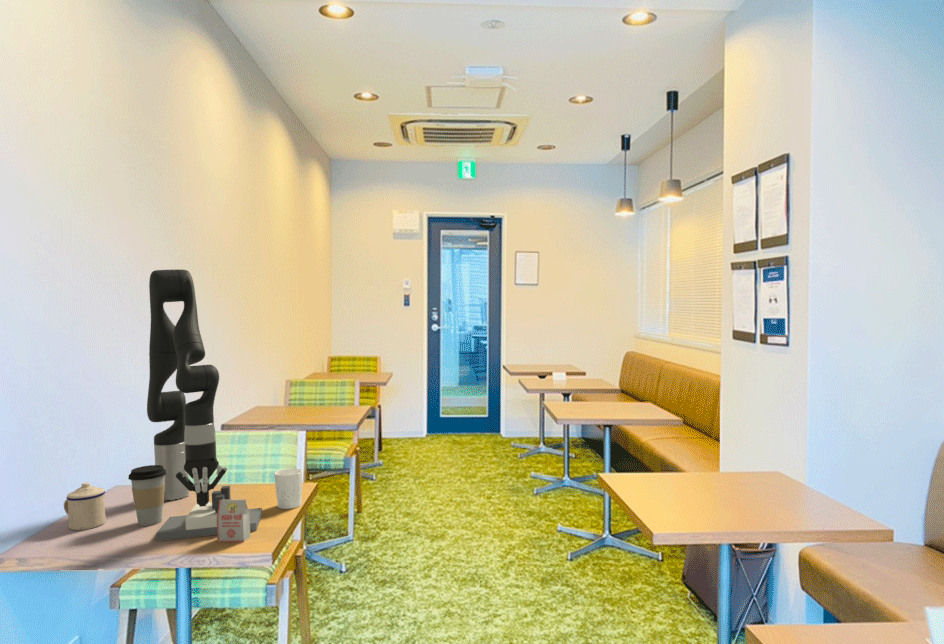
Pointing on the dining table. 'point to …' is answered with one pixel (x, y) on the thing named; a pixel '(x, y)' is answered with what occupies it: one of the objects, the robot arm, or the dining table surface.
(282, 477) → the white cup
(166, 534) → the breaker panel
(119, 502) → the dining table surface
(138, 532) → the dining table surface
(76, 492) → the teacup with lid
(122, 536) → the dining table surface
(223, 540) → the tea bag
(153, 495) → the coffee cup
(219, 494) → the handle
